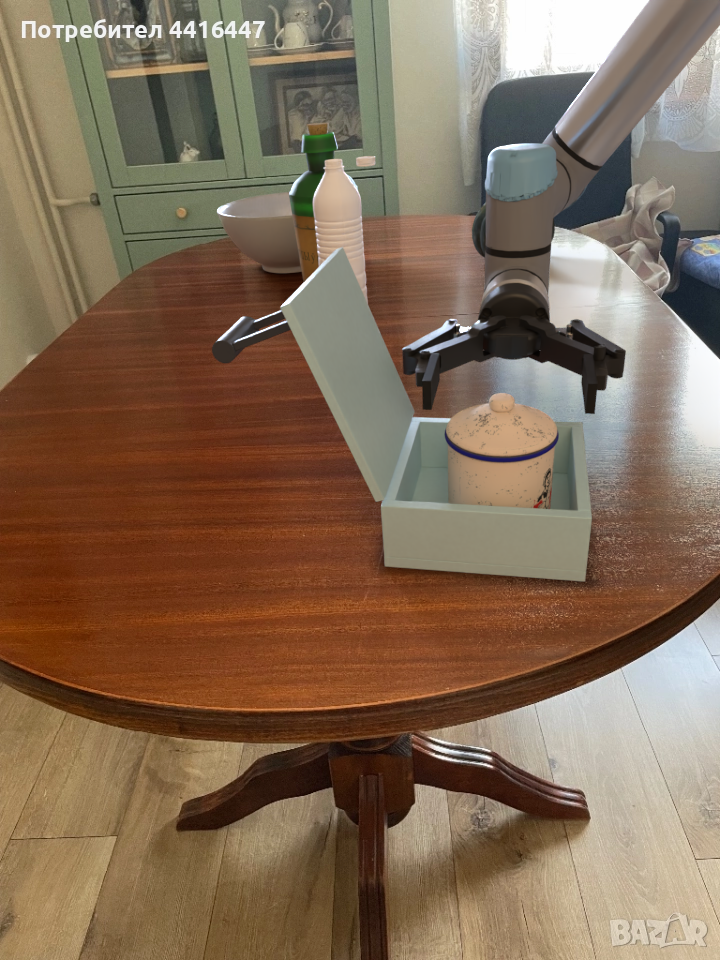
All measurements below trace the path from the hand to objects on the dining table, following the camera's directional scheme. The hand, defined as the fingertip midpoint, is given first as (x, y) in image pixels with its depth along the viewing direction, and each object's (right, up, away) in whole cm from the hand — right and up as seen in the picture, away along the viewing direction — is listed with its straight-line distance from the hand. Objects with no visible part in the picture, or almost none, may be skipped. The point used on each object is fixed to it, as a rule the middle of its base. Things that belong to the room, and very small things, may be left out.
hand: (507, 397), depth 61 cm
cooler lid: (-12, +2, -1) cm, 12 cm away
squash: (+17, +35, +78) cm, 88 cm away
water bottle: (-13, +13, +46) cm, 49 cm away
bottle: (-17, +21, +60) cm, 65 cm away
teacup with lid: (0, -10, +4) cm, 10 cm away
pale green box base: (-1, -10, +4) cm, 11 cm away
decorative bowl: (-26, +37, +87) cm, 98 cm away
